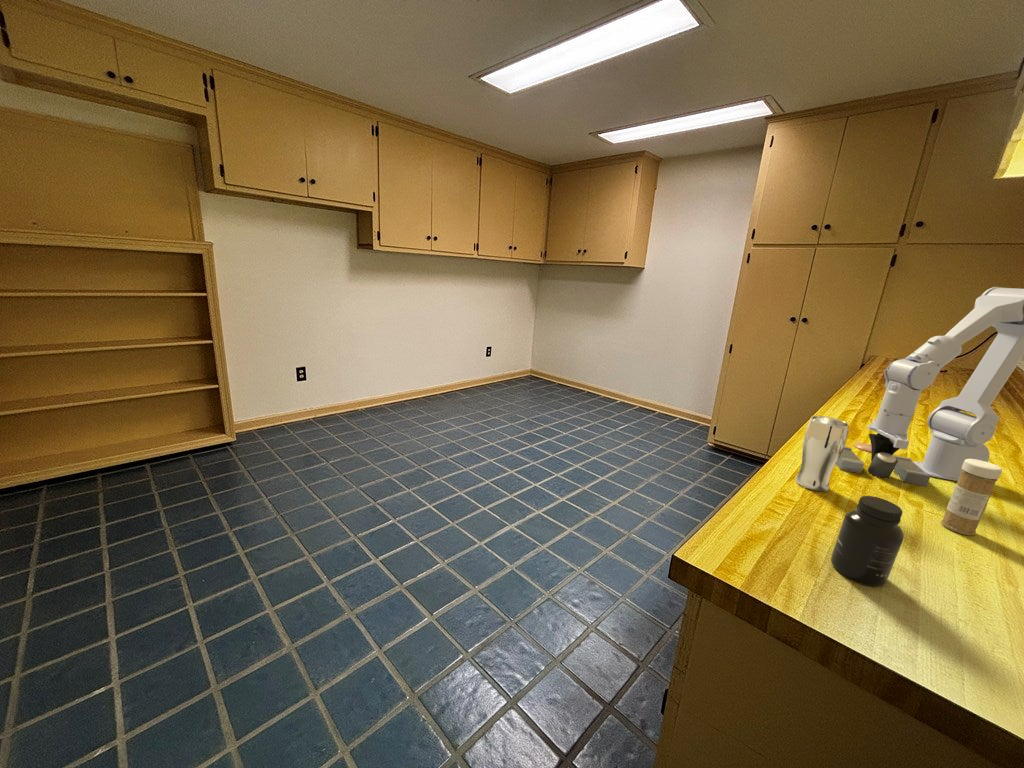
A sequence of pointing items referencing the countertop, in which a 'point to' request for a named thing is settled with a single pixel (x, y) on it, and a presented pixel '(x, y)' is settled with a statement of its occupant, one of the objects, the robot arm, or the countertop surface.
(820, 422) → the beer glass
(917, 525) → the countertop surface
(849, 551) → the supplement bottle
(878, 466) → the grey short cylinder
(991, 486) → the sprinkles bottle
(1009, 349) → the robot arm
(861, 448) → the coaster
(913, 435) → the countertop surface
